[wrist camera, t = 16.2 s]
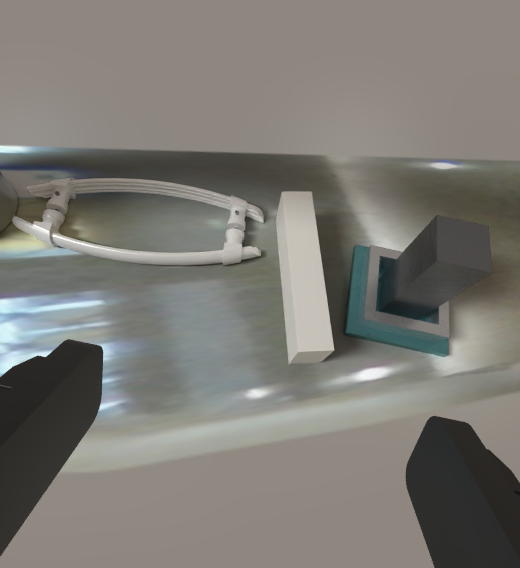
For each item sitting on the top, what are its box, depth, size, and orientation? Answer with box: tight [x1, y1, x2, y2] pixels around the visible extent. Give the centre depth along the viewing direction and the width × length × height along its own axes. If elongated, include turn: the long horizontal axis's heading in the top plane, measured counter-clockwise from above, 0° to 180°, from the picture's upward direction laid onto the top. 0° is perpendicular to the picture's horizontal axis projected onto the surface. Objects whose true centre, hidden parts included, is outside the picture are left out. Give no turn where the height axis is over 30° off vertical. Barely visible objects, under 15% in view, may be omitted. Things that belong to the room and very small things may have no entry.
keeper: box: [344, 245, 450, 357], centre depth 36 cm, size 10×10×3 cm
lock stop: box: [379, 215, 492, 320], centre depth 32 cm, size 4×4×11 cm
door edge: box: [276, 192, 334, 364], centre depth 35 cm, size 16×3×5 cm, turn 3°
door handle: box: [12, 177, 264, 265], centre depth 38 cm, size 3×10×25 cm
